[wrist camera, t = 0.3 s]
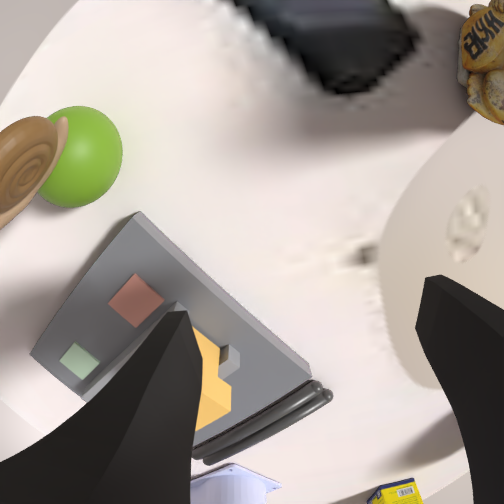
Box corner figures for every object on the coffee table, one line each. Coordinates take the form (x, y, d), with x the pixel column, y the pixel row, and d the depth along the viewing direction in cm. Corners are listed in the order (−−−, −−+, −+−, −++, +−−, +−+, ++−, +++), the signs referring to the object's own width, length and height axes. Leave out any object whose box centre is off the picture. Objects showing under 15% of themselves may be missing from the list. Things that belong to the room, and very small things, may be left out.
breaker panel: (207, 460, 27) (205, 483, 25) (37, 344, 22) (21, 365, 19) (338, 387, 24) (346, 413, 21) (140, 210, 18) (123, 224, 15)
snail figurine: (39, 172, 17) (-104, 227, 6) (92, 91, 15) (-60, 71, 4) (93, 224, 18) (-32, 327, 7) (153, 145, 17) (23, 174, 6)
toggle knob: (201, 379, 21) (194, 431, 16) (144, 336, 19) (124, 386, 15) (232, 357, 20) (230, 411, 16) (173, 310, 19) (156, 360, 14)
